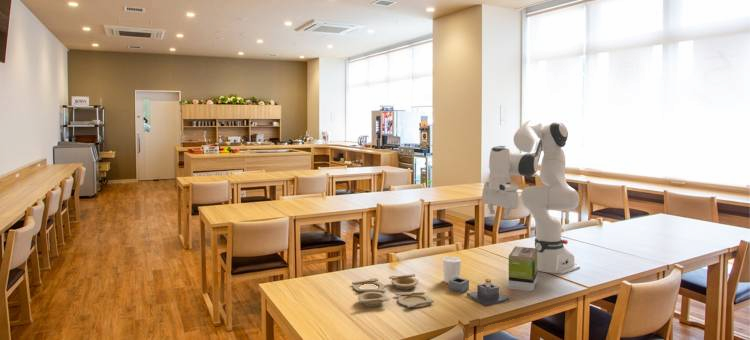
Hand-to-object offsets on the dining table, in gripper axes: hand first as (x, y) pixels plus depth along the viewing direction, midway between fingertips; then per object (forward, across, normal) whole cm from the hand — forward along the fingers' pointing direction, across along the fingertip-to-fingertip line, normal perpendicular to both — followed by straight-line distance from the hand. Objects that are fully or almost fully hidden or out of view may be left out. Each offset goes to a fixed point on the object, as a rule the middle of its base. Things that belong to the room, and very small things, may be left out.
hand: (499, 216), depth 210 cm
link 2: (+28, +14, -16) cm, 35 cm away
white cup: (+29, -9, -18) cm, 36 cm away
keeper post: (+29, +14, -16) cm, 36 cm away
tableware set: (+30, -7, -49) cm, 58 cm away
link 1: (+29, +1, -21) cm, 36 cm away
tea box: (+29, +8, +7) cm, 31 cm away
